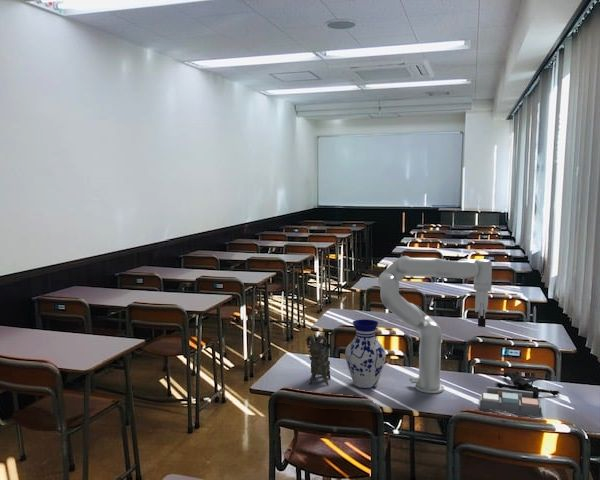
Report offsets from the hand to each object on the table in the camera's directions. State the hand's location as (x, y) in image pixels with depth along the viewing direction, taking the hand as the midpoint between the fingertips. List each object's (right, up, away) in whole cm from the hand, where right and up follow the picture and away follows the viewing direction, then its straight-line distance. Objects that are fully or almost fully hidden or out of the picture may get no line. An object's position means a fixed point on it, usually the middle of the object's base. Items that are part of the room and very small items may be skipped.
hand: (481, 326), depth 232 cm
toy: (+18, -30, +1) cm, 35 cm away
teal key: (+5, -28, -20) cm, 35 cm away
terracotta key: (+12, -30, -23) cm, 39 cm away
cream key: (-2, -30, -17) cm, 34 cm away
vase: (-52, -29, +8) cm, 60 cm away
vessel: (-74, -29, +13) cm, 80 cm away
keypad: (+5, -31, -18) cm, 36 cm away
